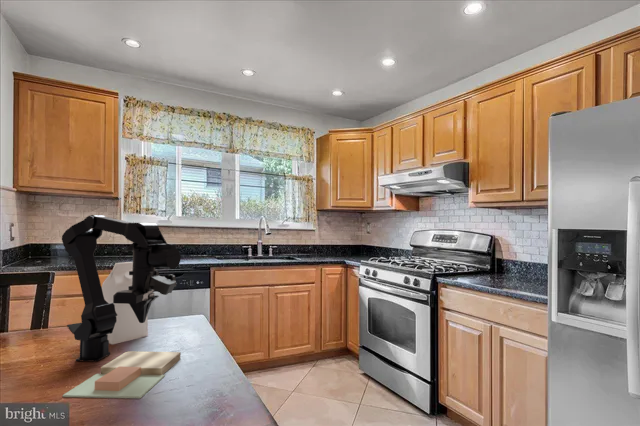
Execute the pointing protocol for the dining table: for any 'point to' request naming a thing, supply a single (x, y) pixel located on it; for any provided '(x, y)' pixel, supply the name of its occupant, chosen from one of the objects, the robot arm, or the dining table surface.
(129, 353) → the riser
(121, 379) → the tile
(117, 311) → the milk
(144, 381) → the mat
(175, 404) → the dining table surface
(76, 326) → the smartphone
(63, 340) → the dining table surface
